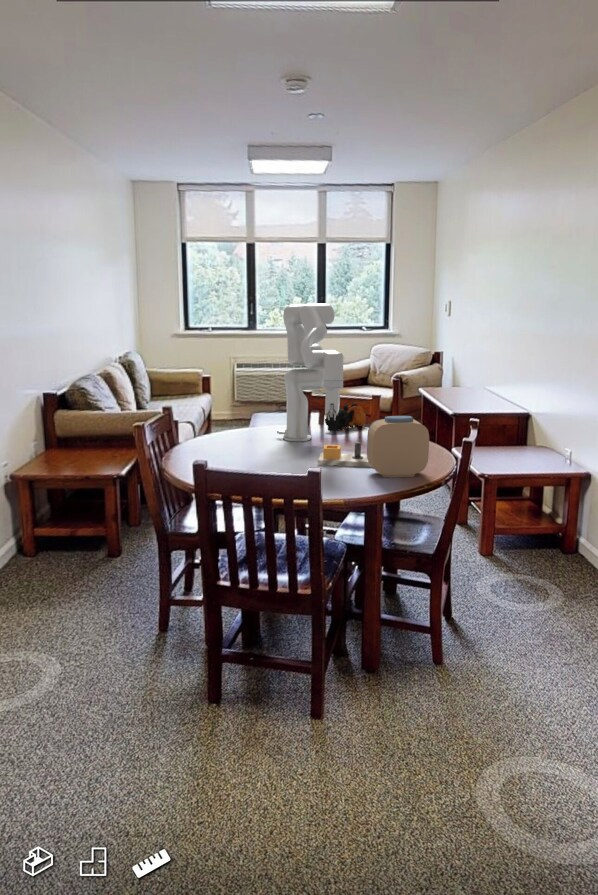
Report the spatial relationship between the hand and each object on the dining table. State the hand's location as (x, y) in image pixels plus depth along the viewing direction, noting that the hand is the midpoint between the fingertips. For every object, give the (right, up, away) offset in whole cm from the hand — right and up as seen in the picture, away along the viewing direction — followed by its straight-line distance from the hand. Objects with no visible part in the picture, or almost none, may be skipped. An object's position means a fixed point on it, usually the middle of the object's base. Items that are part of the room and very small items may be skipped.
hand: (332, 428), depth 266 cm
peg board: (+6, -13, +3) cm, 15 cm away
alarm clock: (+23, -18, -14) cm, 32 cm away
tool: (+9, +1, +65) cm, 66 cm away
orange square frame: (0, -11, +3) cm, 12 cm away
